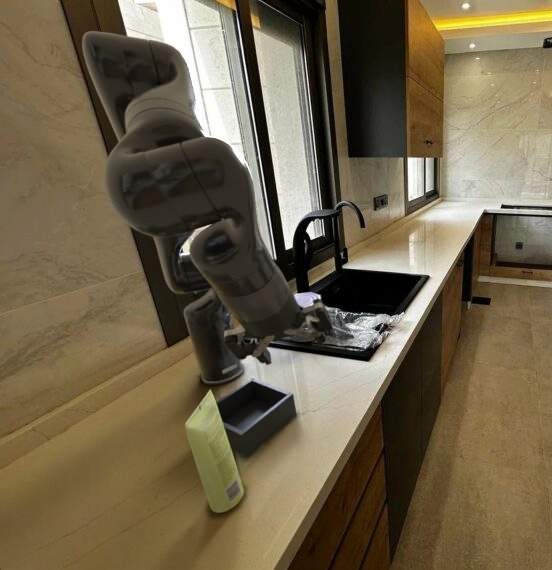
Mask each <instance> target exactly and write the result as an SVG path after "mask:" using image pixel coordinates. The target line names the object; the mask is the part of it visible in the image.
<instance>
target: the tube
mask: <svg viewBox="0 0 552 570" xmlns="http://www.w3.org/2000/svg"><path fill="white" fill-rule="evenodd" d="M216 402H217V401H216V399H215V396H214V394H213V392H212V390H211V389H209V390H208V392H207V393H206V395H205V396H204V397H203V399H202V400H201V401H200V403H199V404H198V406H197V407H196V408H195V410H194V411H193V413H192V414H191V416H189V418H188V419H187V420H186V422H185V424H184V428H185V433H186V436H187V439H188V443H189V446H190V450H191V453H192V457H193V459H194V463H195V465H196V468H197V471H198V475H199V478H200V481H201V484H202V487H203V490H204V493H205V496H206V499H207V502H208V505H209V508H210V509H211V511H213V513H218V514H219V513H220V514H221V513H225V512H228V511H230V510H231V509H233V508H234V507H235V506H237V505H238V504H239V503H240V501H241V500H242V499H243V495H244V493H245V491H244V486H243V483H242V480H241V479H242V478H241V476H240V472H239V469H238V467H237V464H236V461H235V457H234V453H233V451H232V450H231V447H230V444H229V441H228V438H227V435H226V432H225V429H224V425H223V422H222V419H221V416H220V413H219V410H218V407H217V404H216Z"/></svg>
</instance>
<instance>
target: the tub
mask: <svg viewBox="0 0 552 570" xmlns="http://www.w3.org/2000/svg"><path fill="white" fill-rule="evenodd" d="M216 404H217V407H218V410H219V413H220V416H221V419H222V422H223V425H224V429H225V432H226V435H227V438H228V441H229V444H230V447H231V450H232V452H234V453H236V454H237V455H240V456H242V457H243V458H245V459H248V458H249V457H251V455H253V454H254V453H255V452H256V451H257V450H259V448H261V447H262V446H264V444H266V442H268V441H269V440H270V439H271V438H273V436H274V435H276V434H277V433H278V432H279V431H280V430H281V429H282V428H284V426H286V425H288V423H289V422H290V421H291V420H292V419H293V418H295V417H296V416H297V415H298V414H297V413H298V412H297V408H296V403H295V396H294V393H293V392H290V391H287V390H284V389H282V388H280V387H277V386H275V385H272V384H269V383H268V382H264V381H261V380H259V379H256V378H254V377H252V378H250V379H249V380H247V381H246V382H244V383H243V384H241V385H239V386H237V387H236V388H235V389H233V390H232V391H230V392H229V393H227V394H226V395H224V396H223V397H221V398H219V399H218V400H217V401H216Z"/></svg>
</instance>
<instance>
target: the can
mask: <svg viewBox="0 0 552 570" xmlns="http://www.w3.org/2000/svg"><path fill="white" fill-rule="evenodd" d="M293 295H294V297H295V299H296V301H297V303H298V305H300V306H302V307H304V308H305V307H308V306H311V305H314V304H313V301H314V300H315V299H321V300H322V295H321V294H318V293H315V292H312V291H308V292H301V293H294V294H293ZM309 318H311V319H315V317H312V316H309ZM315 320H316V319H315ZM318 321H320V320H319V319H318ZM311 327H313V326H311ZM301 328H302V326H301ZM288 338H289V339H290V340H291V341H294V342H299V343H300V342H301V343H305V342H310V341H313V340H316V339H315V337H314V336H311V335H308V336H307V337H304V336H299V335H294V336H291V337H288Z"/></svg>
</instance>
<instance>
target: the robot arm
mask: <svg viewBox="0 0 552 570" xmlns="http://www.w3.org/2000/svg"><path fill="white" fill-rule="evenodd" d="M81 47H82V54H83V57H84V60H85V64H86V67H87V70H88V73H89V75H90V78H91V82H92V83H93V86H94V88H95V90H96V93H97V95H98V97H99V100H100V102H101V105H102V107H103V109H104V111H105V114H106V116H107V118H108V121H109V122H110V125H111V127H112V130H113V132H114V134H115V137H116V139H117V141H118V142H117V143H116V145H115V146H114V147H113V148H112V150H111V152H110V153H109V155H108V156H107V159H106V161H105V165H104V171H103V184H104V188H105V193H106V195H107V198H108V201H109V204H110V205H111V207H112V208H113V210H114V212H115V213H116V214H117V216H118V217H119V218H120V219H121V220H122V221H123V222H124V223H125V224H126V225H128V226H129V227H130V228H132V230H135V231H137V232H139V233H141V234H143V235H146V236H149V237H152V238H153V241H154V244H155V248H156V251H157V255H158V259H159V263H160V267H161V271H162V275H163V279H164V281H165V283H166V285H167V287H168V289H169V290H170V291H171V292H172V293H174V294H177V295H186V294H191V293H197V292H203V291H207V292H206V293H205V294H204V295H202V296H201V297H200V298H198V299H196V300H194V301H193V302H191V303H189V304H187V305H186V306H185V308H184V309H183V317H184V320H185V323H186V324H185V325H186V327H187V331H188V333H189V337H190V340H191V345H192V350H193V354H194V357H195V360H196V363H197V367H198V370H199V373H200V377H201V380H202V382H203V384H205V385H208V386H217V385H223V384H226V383H229V382H232V381H233V380H236V379H237V378H238V377H240V376H241V375H242V373H243V372H244V369H245V368H244V364H243V361H242V360H245V359H247V357H248V356H251V357H252V358H255V359H256V360H257V361H258V362H259V364H265V365H266V366H268V365H272V355H271V352H270V351H269V350H268V347H269V345H270V344H271V343H272V342H274V343H275V342H278V341H281V340H283V339H286V338H289V337H291V336H294V335H299V336H304V337H307V336H308V335H311V336H314V337H315V339H314V340H315V341H316V343H317V345H318V348H321V347H324V343H325V344H326V342H327V337H326V334H325V332H331V331H332V330H333V329H334V327H333V324H332V320H331V316H330V314H329V312H328V310H327V308H326V306H325V304H324V303H323V300H322V298H321V299H315V300H314V301H313V304H314V305H311V306H308V307H305V308H304V307H302V306H300V305H298V303H297V301H296V299H295V297H294V295H295V294H294V293H293V291H292V289H291V287H290V285H289V284H288V282H287V280H286V277H285V276H284V274H283V272H282V270H281V269H280V267H279V266H278V265H277V263H276V262H275V261H274V259H273V257H272V255H271V253H270V250H269V249H268V247H267V245H266V243H265V240H264V239H263V237H262V234H261V230H260V228H259V221H258V214H257V206H256V204H257V203H256V195H255V194H256V193H255V187H254V181H253V176H252V174H251V170H250V167H249V166H248V163H247V162H246V160H245V158H244V157H243V156H242V154H241V153H240V152H239V151H238V149H237V148H235V147H234V146H233V145H231V144H230V143H229V142H228V141H225V140H223V139H221V138H219V137H216V136H211V135H209V133H208V131H207V129H206V128H205V125H204V124H203V122H202V118H201V110H200V109H201V108H200V103H199V98H198V95H197V90H196V85H195V81H194V78H193V75H192V71H191V69H190V66H189V64H188V62H187V60H186V58H185V56H183V54H182V52H181V51H180V50H179V49H177V48H176V47H175V46H173V45H171V44H169V43H166V42H163V41H159V40H153V39H146V38H140V37H134V36H128V35H123V34H121V35H120V34H118V33H112V32H104V31H96V30H94V31H93V30H91V31H87V32H85V33H84V34H83V36H82V41H81ZM202 228H204V229H203V230H201V231H200V232H198V233H197V235H195V236H194V238H193V239H192V240H191V242H190V245H189V249H188V251H186V252H182V250H183V247H184V246H185V244H186V243H187V242H188V240H189V239H190V238H191V236H193V234H194V233H195V231H196V230H199V229H202ZM232 316H233V317H234V318H235V320H236V321H237V322H238V323H239V325H241V326H240V327H236V328H235V327H234V324H233V323H234V322H233V319H232ZM309 316H312V317H315V319H316V320H315V319H311V318H309ZM318 319H319V320H320V321H318ZM301 326H302V328H301ZM311 326H313V327H311ZM245 336H246V337H248V338H251V340H250V342H249V343H246V342H245V341H244V337H245Z"/></svg>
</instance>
